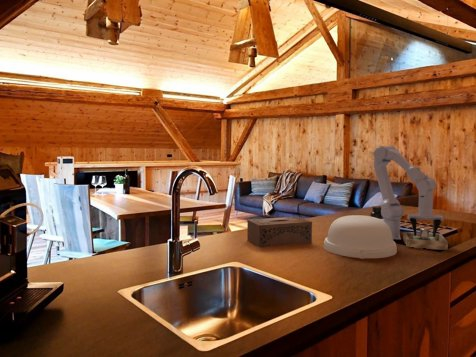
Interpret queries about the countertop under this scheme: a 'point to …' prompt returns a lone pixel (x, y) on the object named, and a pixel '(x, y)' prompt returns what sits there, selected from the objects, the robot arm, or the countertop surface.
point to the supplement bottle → (376, 212)
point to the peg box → (425, 241)
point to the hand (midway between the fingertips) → (424, 235)
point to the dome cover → (360, 237)
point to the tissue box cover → (279, 231)
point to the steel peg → (424, 234)
